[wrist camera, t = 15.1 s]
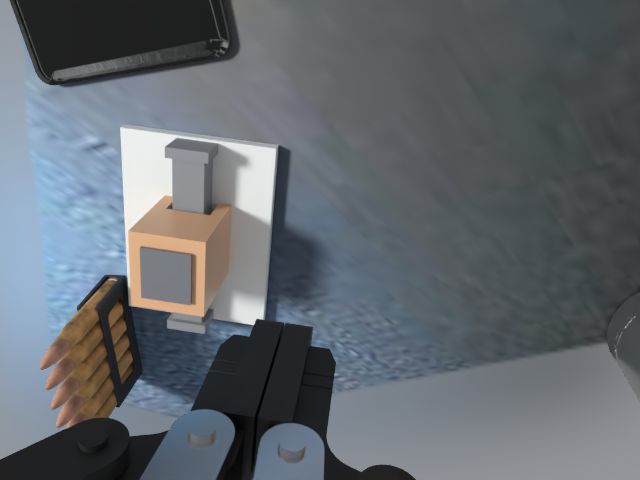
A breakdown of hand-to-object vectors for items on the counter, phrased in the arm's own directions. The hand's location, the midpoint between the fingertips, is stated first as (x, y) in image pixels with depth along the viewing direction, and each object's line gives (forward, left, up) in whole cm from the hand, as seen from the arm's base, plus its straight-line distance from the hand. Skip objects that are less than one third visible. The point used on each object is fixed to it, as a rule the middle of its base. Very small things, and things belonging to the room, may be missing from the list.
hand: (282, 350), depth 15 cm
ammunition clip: (+18, +22, -29) cm, 41 cm away
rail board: (+11, +11, -29) cm, 33 cm away
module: (+11, +11, -28) cm, 32 cm away
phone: (+17, -5, -30) cm, 34 cm away
